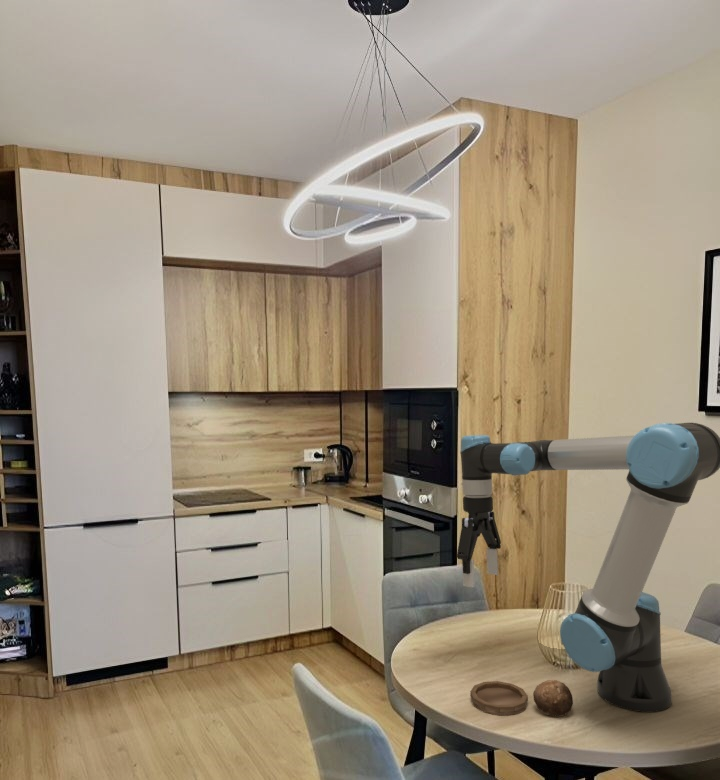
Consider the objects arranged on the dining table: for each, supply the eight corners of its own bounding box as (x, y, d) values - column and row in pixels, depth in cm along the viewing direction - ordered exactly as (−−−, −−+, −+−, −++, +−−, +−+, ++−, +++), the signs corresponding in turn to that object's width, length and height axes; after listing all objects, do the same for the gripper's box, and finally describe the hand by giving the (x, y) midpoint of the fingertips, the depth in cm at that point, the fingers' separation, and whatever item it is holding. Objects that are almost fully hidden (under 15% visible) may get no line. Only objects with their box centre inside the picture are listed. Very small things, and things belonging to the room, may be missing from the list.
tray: (538, 704, 131) (538, 696, 131) (500, 721, 125) (499, 712, 125) (497, 684, 141) (497, 676, 141) (460, 698, 135) (460, 690, 135)
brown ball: (544, 681, 135) (547, 666, 132) (577, 704, 131) (581, 689, 127) (525, 708, 131) (527, 693, 127) (559, 733, 126) (562, 718, 123)
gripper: (485, 489, 165) (488, 567, 164) (440, 501, 146) (444, 589, 144) (511, 490, 161) (514, 571, 160) (468, 502, 141) (472, 594, 140)
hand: (481, 580), depth 152 cm, fingers open, 13 cm apart
